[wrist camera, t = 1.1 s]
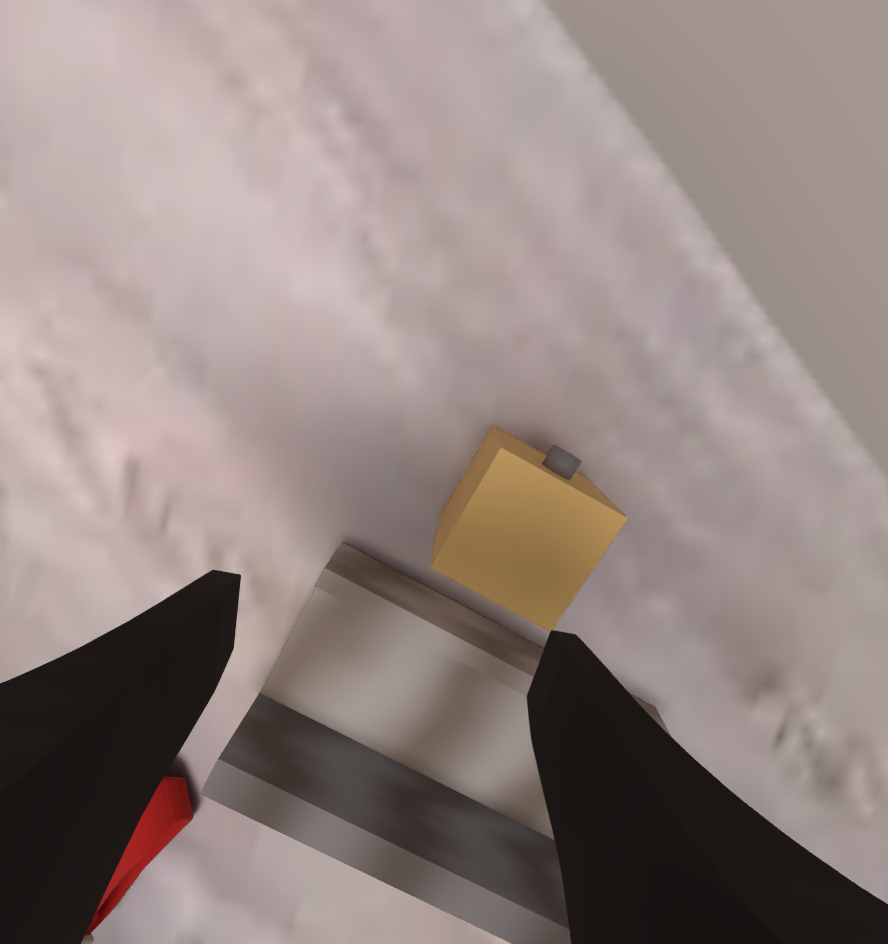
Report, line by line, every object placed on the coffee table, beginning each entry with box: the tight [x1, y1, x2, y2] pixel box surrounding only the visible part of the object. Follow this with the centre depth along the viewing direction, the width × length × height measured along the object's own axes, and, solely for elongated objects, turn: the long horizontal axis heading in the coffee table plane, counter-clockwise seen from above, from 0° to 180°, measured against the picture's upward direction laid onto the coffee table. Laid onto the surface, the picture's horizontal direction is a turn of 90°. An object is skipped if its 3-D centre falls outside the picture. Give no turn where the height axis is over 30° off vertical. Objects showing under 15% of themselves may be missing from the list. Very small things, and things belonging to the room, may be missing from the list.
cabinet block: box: [430, 425, 628, 632], centre depth 20 cm, size 5×6×6 cm
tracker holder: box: [81, 777, 193, 944], centre depth 27 cm, size 12×4×10 cm
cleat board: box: [200, 542, 671, 944], centre depth 23 cm, size 18×10×6 cm, turn 61°
